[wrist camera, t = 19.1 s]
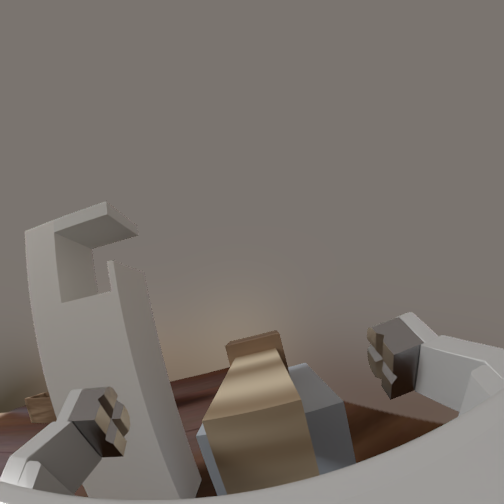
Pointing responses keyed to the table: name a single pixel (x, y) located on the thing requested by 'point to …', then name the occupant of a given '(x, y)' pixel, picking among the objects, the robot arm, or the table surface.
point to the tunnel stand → (108, 352)
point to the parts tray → (40, 408)
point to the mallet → (259, 420)
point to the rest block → (319, 424)
